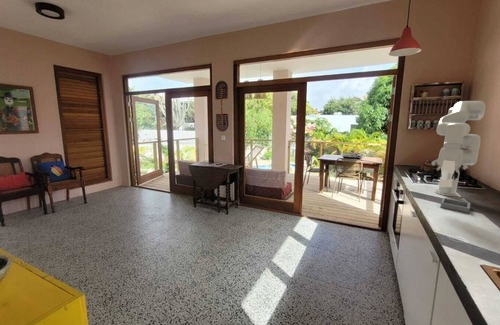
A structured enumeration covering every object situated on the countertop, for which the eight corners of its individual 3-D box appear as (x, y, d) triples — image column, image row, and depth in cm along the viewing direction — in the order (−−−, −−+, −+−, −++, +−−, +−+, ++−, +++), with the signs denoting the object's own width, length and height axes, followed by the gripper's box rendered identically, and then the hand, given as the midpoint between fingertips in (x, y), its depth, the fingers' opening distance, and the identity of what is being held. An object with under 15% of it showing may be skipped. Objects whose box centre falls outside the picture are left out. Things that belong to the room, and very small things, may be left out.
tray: (442, 202, 149) (443, 197, 148) (469, 207, 140) (470, 202, 140) (440, 207, 139) (441, 202, 139) (468, 213, 131) (469, 208, 130)
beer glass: (447, 188, 128) (451, 161, 125) (434, 184, 135) (438, 158, 132) (456, 187, 130) (461, 160, 127) (443, 183, 136) (447, 158, 133)
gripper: (474, 147, 125) (467, 179, 128) (433, 144, 136) (428, 174, 140) (474, 148, 119) (467, 182, 123) (431, 145, 131) (426, 176, 134)
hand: (446, 177), depth 131 cm, fingers closed on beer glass, 6 cm apart
